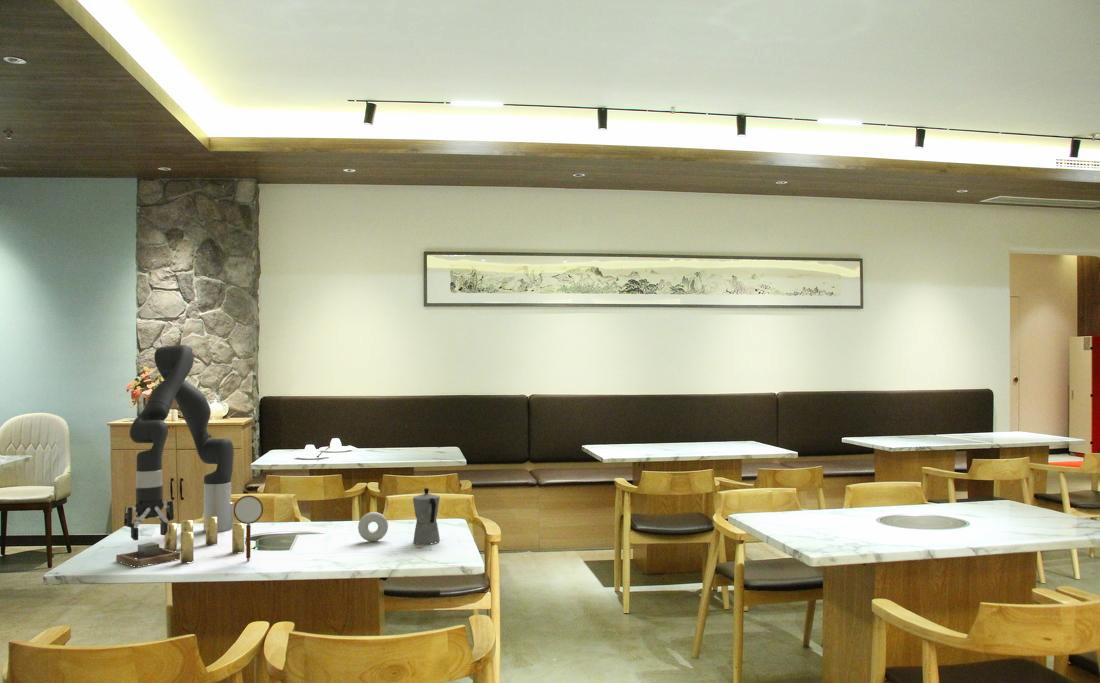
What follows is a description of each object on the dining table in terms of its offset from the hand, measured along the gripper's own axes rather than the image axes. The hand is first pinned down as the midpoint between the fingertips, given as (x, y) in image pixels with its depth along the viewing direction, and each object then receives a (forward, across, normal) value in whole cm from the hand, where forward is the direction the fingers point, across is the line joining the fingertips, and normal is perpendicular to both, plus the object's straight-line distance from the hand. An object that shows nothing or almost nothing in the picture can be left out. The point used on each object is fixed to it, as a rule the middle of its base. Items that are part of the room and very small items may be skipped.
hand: (149, 537), depth 252 cm
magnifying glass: (+7, -18, +26) cm, 32 cm away
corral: (+7, 0, 0) cm, 7 cm away
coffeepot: (+8, -68, +51) cm, 86 cm away
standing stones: (+7, -15, +3) cm, 16 cm away
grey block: (+7, 0, 0) cm, 7 cm away
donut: (+8, -58, +35) cm, 69 cm away
